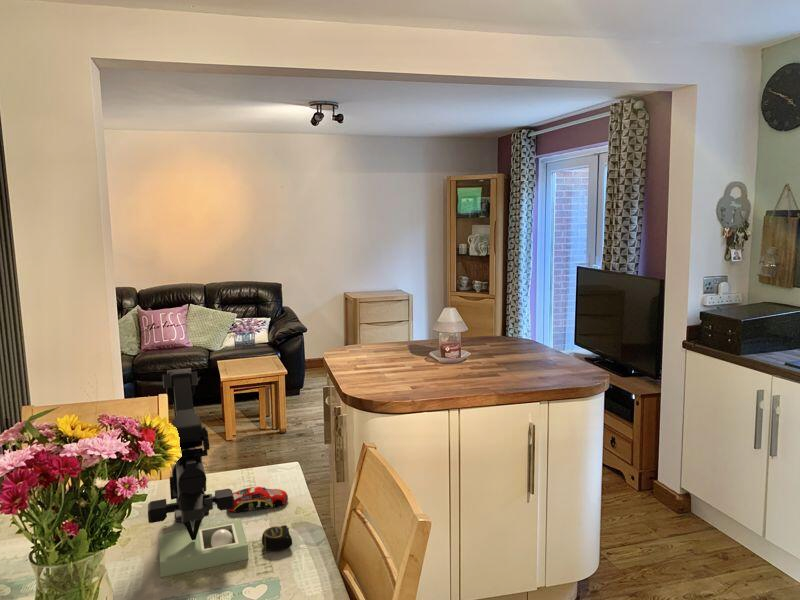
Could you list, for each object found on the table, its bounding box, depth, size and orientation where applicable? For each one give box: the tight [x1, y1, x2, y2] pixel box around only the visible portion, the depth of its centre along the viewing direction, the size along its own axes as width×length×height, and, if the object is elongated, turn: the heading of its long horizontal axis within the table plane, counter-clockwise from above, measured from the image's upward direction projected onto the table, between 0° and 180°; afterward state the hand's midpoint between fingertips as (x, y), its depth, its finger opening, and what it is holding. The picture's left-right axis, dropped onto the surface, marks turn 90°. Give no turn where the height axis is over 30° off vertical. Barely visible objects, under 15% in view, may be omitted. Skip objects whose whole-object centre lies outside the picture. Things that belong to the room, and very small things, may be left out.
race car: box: [227, 486, 289, 514], centre depth 166 cm, size 16×7×5 cm, turn 105°
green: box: [159, 519, 249, 578], centre depth 142 cm, size 13×19×4 cm
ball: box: [210, 529, 233, 548], centre depth 144 cm, size 5×5×5 cm
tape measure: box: [261, 524, 293, 552], centre depth 145 cm, size 7×7×4 cm
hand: (193, 539), depth 141 cm, fingers closed
